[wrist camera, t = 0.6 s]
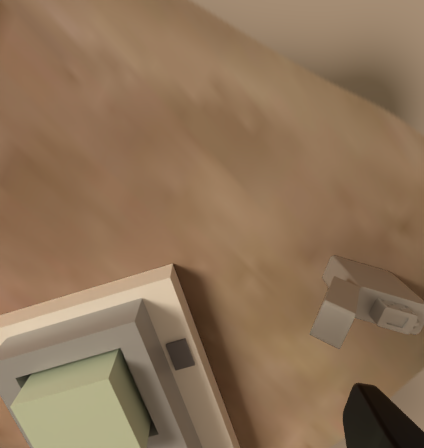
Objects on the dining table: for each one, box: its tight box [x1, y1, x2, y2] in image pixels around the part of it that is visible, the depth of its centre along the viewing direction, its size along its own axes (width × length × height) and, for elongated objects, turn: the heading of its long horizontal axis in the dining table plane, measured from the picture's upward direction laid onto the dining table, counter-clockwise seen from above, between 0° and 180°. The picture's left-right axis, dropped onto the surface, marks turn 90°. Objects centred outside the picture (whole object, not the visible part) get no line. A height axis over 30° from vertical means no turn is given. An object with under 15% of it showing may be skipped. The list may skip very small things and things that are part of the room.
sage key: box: [10, 348, 151, 448], centre depth 20 cm, size 5×5×2 cm
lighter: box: [310, 255, 424, 349], centre depth 20 cm, size 7×2×8 cm, turn 72°
